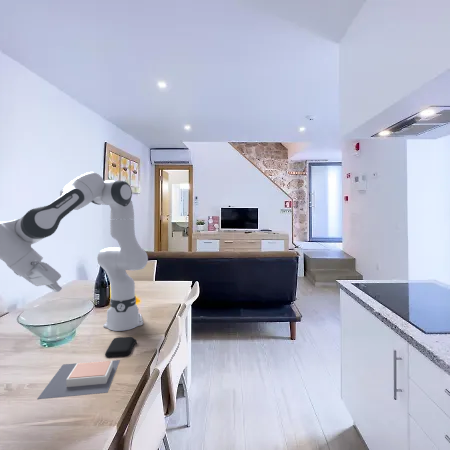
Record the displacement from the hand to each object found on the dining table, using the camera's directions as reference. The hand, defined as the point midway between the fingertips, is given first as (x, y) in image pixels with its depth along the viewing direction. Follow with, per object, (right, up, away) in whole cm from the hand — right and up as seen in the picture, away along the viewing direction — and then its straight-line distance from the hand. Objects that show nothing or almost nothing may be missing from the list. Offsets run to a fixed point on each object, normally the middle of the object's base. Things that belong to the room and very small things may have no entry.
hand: (59, 290), depth 104 cm
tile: (+8, -27, -7) cm, 29 cm away
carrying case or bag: (+17, -28, +15) cm, 37 cm away
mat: (+12, -29, -6) cm, 32 cm away
